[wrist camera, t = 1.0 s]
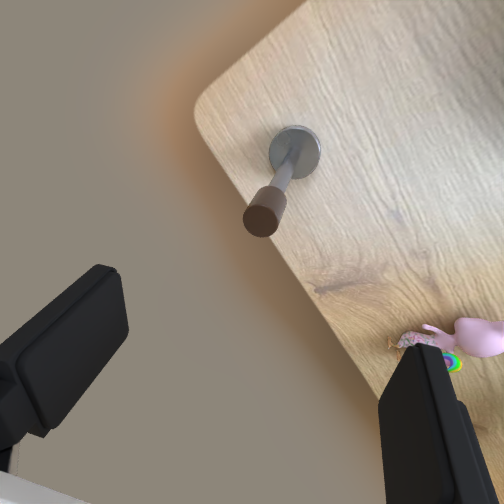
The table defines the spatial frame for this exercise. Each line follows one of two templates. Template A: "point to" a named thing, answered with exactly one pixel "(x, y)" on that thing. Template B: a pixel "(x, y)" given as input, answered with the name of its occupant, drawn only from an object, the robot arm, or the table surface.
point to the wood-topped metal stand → (282, 177)
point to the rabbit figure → (459, 340)
